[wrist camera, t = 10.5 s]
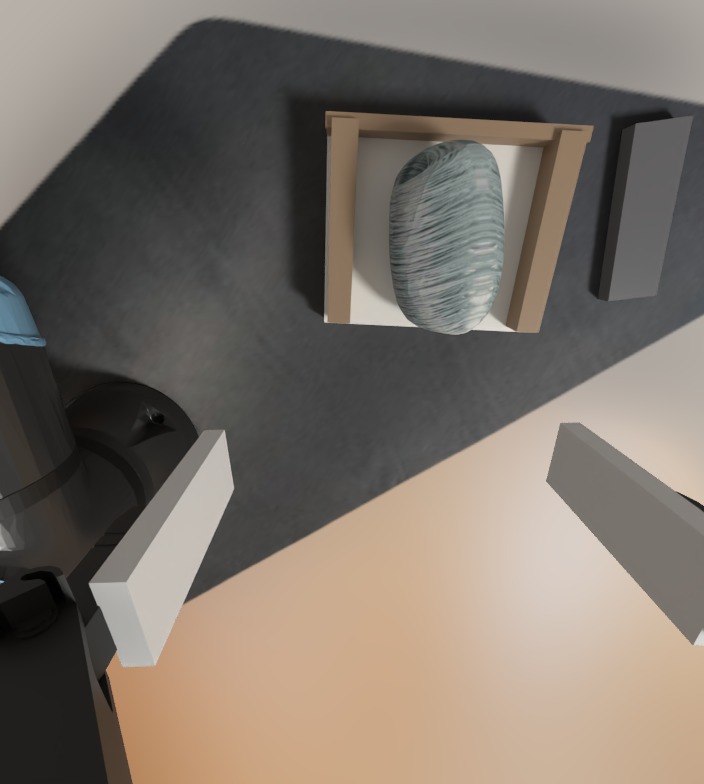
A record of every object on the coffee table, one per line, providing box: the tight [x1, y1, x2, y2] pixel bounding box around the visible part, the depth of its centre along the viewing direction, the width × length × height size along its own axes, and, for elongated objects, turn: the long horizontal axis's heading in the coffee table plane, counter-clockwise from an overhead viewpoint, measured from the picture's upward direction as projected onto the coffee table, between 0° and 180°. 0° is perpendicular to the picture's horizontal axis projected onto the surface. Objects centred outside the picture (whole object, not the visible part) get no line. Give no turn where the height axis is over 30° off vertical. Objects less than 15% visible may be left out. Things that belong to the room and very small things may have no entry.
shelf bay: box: [324, 111, 594, 333], centre depth 30 cm, size 20×16×4 cm
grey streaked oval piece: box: [389, 140, 505, 335], centre depth 27 cm, size 14×10×10 cm
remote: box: [598, 116, 693, 301], centre depth 31 cm, size 4×14×2 cm, turn 7°
